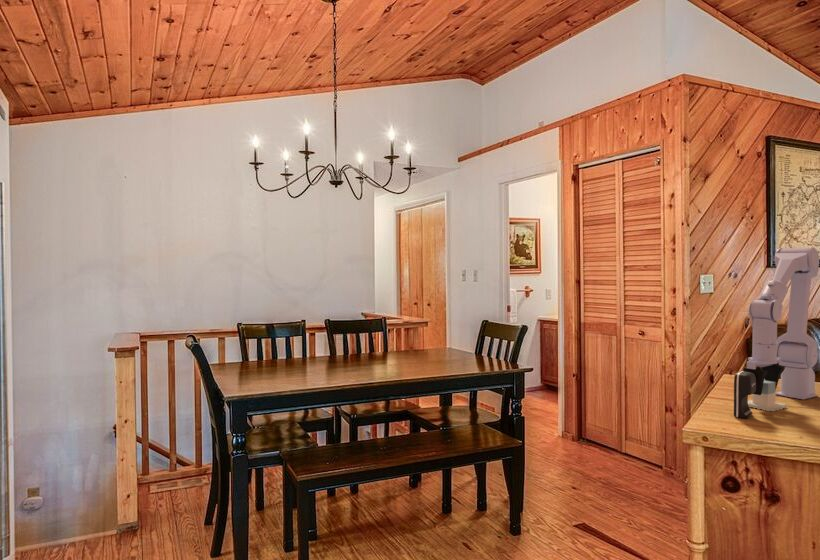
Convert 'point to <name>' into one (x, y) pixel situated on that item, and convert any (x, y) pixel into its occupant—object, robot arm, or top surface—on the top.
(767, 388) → the brick stack
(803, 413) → the top surface
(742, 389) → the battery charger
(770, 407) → the plate
